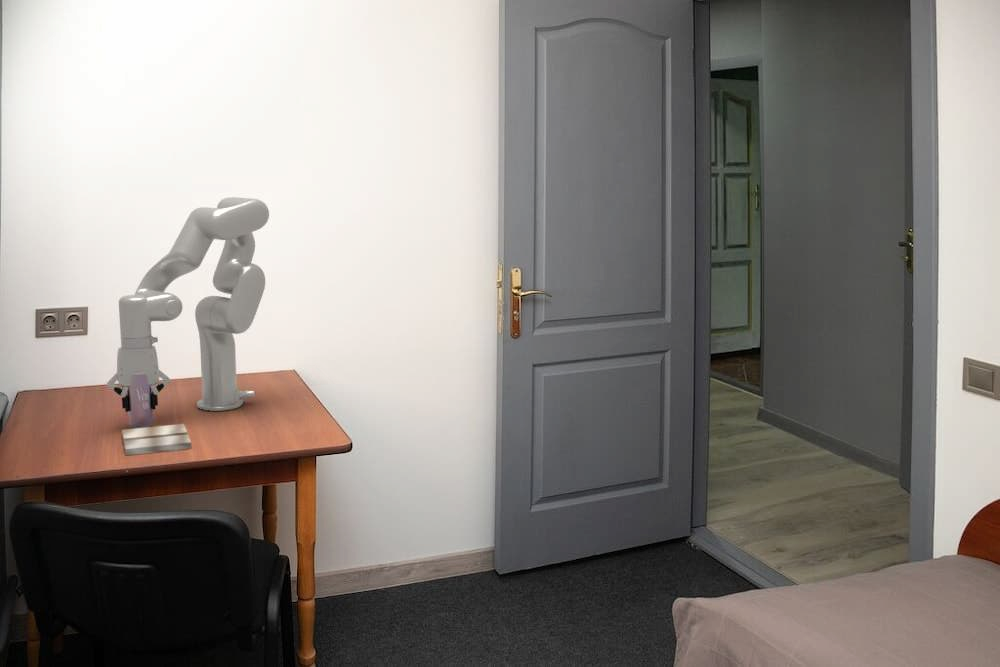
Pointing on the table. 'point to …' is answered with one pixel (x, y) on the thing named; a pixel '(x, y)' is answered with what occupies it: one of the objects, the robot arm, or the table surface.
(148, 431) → the plank
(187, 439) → the floorboard
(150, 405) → the beverage can
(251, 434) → the table surface
